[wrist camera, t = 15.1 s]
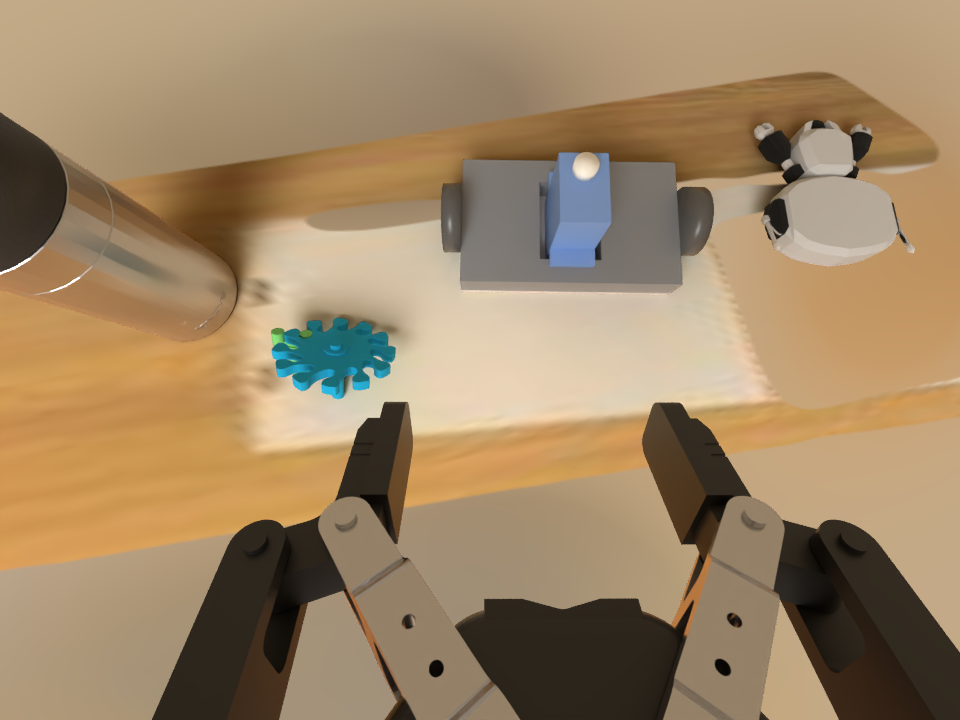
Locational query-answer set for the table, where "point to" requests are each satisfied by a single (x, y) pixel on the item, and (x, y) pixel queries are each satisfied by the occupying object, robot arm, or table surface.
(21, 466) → the table surface
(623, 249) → the chassis
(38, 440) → the table surface
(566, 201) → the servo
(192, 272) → the robot arm
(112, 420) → the table surface
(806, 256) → the robot toy
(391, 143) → the table surface
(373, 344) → the gear
